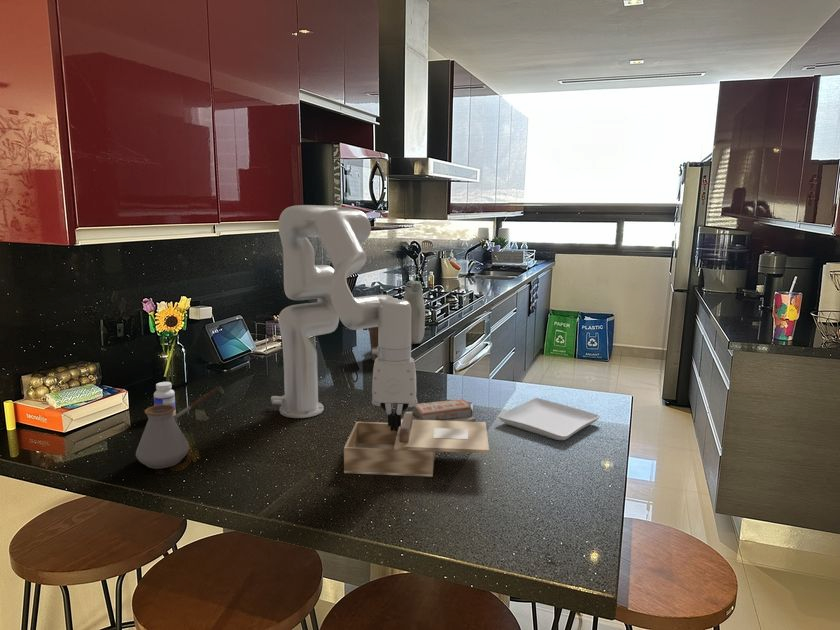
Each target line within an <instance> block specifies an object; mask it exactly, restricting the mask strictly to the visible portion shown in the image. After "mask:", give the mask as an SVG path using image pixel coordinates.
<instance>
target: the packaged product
mask: <svg viewBox="0 0 840 630" xmlns="http://www.w3.org/2000/svg"><path fill="white" fill-rule="evenodd" d="M404 413H413V420H440V421H468V422H476V420H477V418H476V417H475V416H474V415H473V413H474V410H473V409H472V405H471V404H470V403H469V402H467V401H466V400H465V399H464V398H463V399H462V398H461V399H460V398H459V399H453V400H452V399H451V400H442V401H441V400H440V401H433V402H421V403H417V406H413V407H411V410H410V411H404Z"/></svg>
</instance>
